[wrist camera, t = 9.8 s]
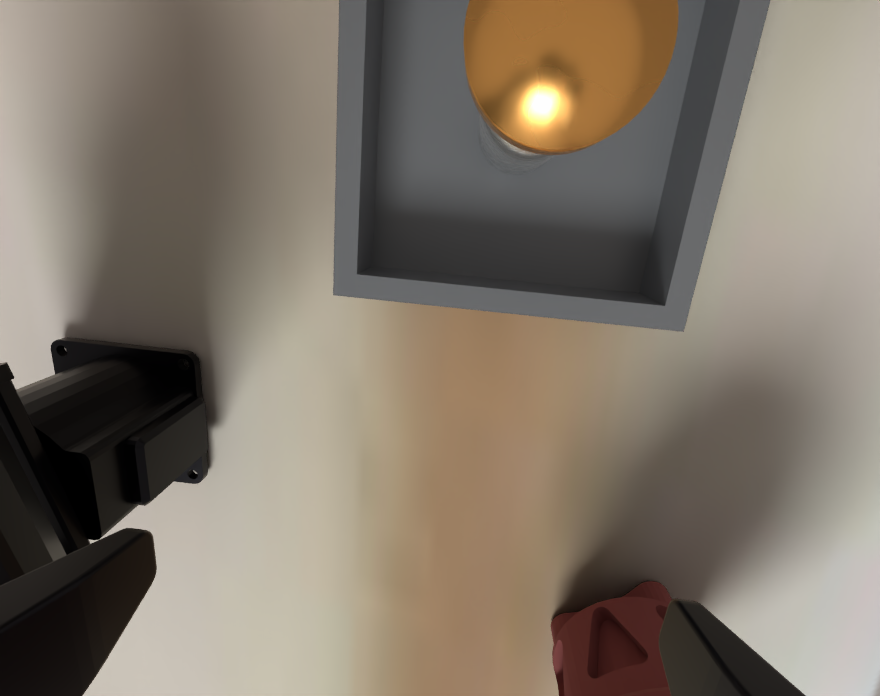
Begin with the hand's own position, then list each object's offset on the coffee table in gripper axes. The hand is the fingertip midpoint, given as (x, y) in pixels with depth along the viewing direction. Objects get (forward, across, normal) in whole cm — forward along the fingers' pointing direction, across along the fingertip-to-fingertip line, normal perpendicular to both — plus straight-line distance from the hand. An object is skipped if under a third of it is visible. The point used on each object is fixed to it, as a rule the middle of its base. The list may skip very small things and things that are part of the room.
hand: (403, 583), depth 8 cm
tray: (+12, -2, -9) cm, 15 cm away
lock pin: (+11, -2, -9) cm, 15 cm away
